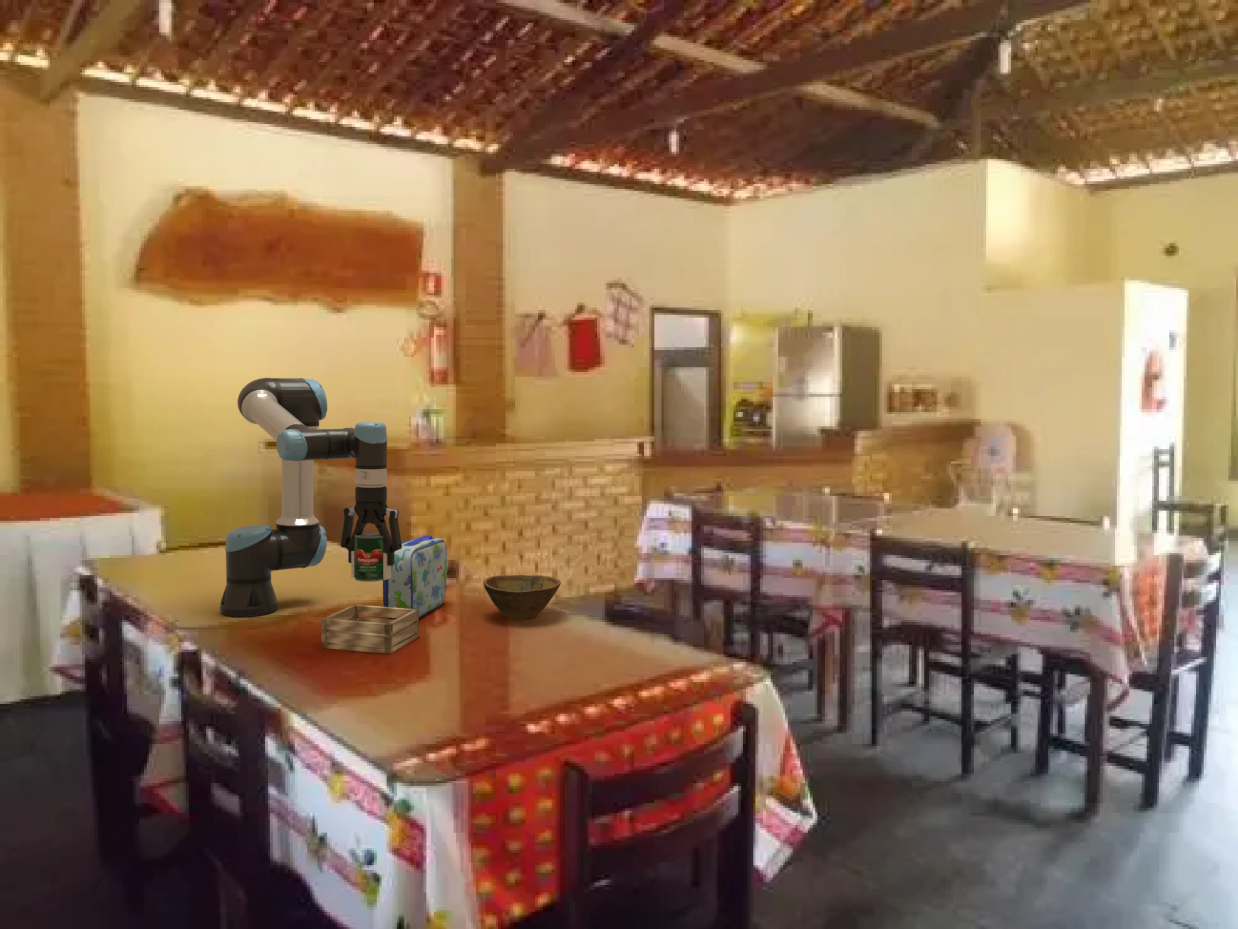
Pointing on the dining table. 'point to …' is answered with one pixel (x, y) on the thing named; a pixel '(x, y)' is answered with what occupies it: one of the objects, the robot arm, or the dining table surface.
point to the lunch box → (417, 575)
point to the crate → (370, 629)
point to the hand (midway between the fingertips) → (371, 577)
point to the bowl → (521, 594)
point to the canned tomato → (369, 557)
